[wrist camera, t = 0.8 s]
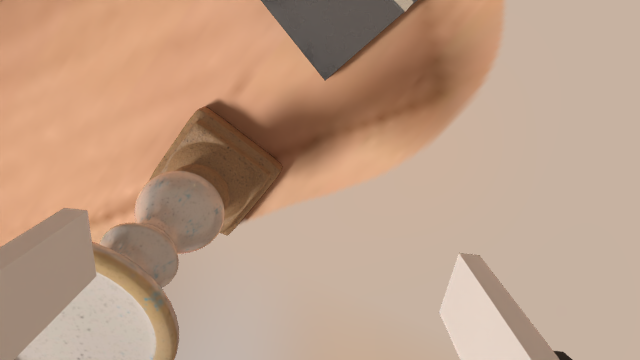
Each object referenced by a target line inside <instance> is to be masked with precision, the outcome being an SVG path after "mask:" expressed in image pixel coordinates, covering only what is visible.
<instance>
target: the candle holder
mask: <svg viewBox="0 0 640 360" xmlns="http://www.w3.org/2000/svg"><path fill="white" fill-rule="evenodd" d="M281 169H282V165H281V163H280V162H278V161H277V160H276V159H275V158H274V157H272V156H271V155H270V154H269V153H267V152H266V151H265V150H263V149H262V148H261V147H259V146H258V145H257V144H256V143H254V142H253V141H252V140H250V139H249V138H248V137H246V136H245V135H244V134H242V133H241V132H240V131H239V130H237V129H236V128H235V127H233V126H232V125H231V124H229V123H228V122H227V121H225V120H224V119H223V118H222V117H220V116H219V115H217V114H216V113H215V112H213V111H212V110H210V109H209V108H207V107H202V108H200V109H198V110H197V111H196V112H195V113H194V115H193V116H192V117H191V118H190V120H189V121H188V122H187V124H186V125H185V127H184V128H183V130H182V131H181V133H180V134H179V136H178V137H177V138H176V140H175V141H174V143H173V144H172V146H171V147H170V149H169V150H168V152H167V153H166V155H165V156H164V158H163V159H162V161H161V162H160V164H159V165H158V167H157V168H156V169H155V171H154V173H153V175H152V176H151V178H150V180H149V182H147V184H146V185H145V186H144V187H143V188H142V190H141V191H140V193H139V195H138V197H137V200H136V203H135V212H134V213H135V223H125V224H120V225H117V226H115V227H113V228H111V229H110V230H109V231H108V232H106V233H105V235H104V236H103V237H102V239H101V240H100V243H99V244H97V243H95V242H92V247H93V254H94V261H95V268H96V275H97V276H96V277H95V278H94V279H93V280H92V281H91V282H90V283H89V284H88V285H87V286H86V287H85V288H84V289H83V290H82V291H81V292H80V293H79V294H78V295H77V296H76V297H75V298H74V299H73V300H72V301H71V302H70V303H69V304H68V306H67V307H66V308H65V309H64V310H63V311H62V312H61V313H60V314H59V315H58V316H57V317H56V318H55V319H54V320H53V321H52V322H51V323H50V324H49V325H48V326H47V327H46V328H45V329H44V330H43V331H42V332H41V333H40V334H39V335H38V336H37V337H36V338H35V339H34V340H33V341H32V342H31V343H30V344H29V345H28V346H27V347H26V348H25V349H24V350H23V351H22V352H21V353H20V354H19V355H18V356H17V357H16V358H15V359H14V360H174V359H175V356H176V354H177V349H178V343H179V326H178V321H177V317H176V314H175V312H174V309H173V307H172V304H171V302H170V301H169V299H168V297H167V296H166V294H165V293H164V291H163V289H162V287H164V286H166V285H167V284H169V282H170V281H171V280H172V279H173V278H174V276H175V275H176V272H177V270H178V254H184V253H190V252H193V251H197V250H199V249H201V248H203V247H205V246H206V245H208V244H209V243H211V241H213V239H215V238H216V236H217V235H218V234H219V233H223V234H224V235H229V234H230V233H231V232H232V231H233V230H234V229H235V228H236V227H237V226H238V224H239V223H240V222H241V221H242V219H243V218H244V217H245V216H246V215H247V213H248V212H249V211H250V210H251V209H252V207H253V206H254V205H255V204H256V203H257V201H258V200H259V199H260V198H261V197H262V195H263V194H264V193H265V192H266V191H267V189H268V188H269V187H270V186H271V185H272V183H273V182H274V180H275V179H276V178H277V176H278V175H279V174H280V171H281Z"/></svg>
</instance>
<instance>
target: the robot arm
mask: <svg viewBox="0 0 640 360" xmlns="http://www.w3.org/2000/svg"><path fill="white" fill-rule="evenodd" d="M96 276H97V275H96V268H95V261H94V254H93V247H92V240H91V233H90V226H89V219H88V212H87V210H78V209H70V208H63V209H62V210H60V211H59V212H57V213H55V214H54V215H52V216H50V217H49V218H47V219H46V220H44V221H42V222H41V223H39V224H38V225H36V226H34V227H33V228H31V229H29V230H28V231H26V232H25V233H23V234H21V235H20V236H18V237H16V238H15V239H13V240H12V241H10V242H8V243H7V244H5V245H3V246H2V247H0V360H14V359H15V358H16V357H17V356H18V355H19V354H20V353H21V352H22V351H23V350H24V349H25V348H26V347H27V346H28V345H29V344H30V343H31V342H32V341H33V340H34V339H35V338H36V337H37V336H38V335H39V334H40V333H41V332H42V331H43V330H44V329H45V328H46V327H47V326H48V325H49V324H50V323H51V322H52V321H53V320H54V319H55V318H56V317H57V316H58V315H59V314H60V313H61V312H62V311H63V310H64V309H65V308H66V307H67V306H68V304H69V303H70V302H71V301H72V300H73V299H74V298H75V297H76V296H77V295H78V294H79V293H80V292H81V291H82V290H83V289H84V288H85V287H86V286H87V285H88V284H89V283H90V282H91V281H92V280H93V279H94V278H95V277H96ZM439 313H440V315H441V318H442V320H443V322H444V324H445V327H446V329H447V331H448V333H449V335H450V338H451V340H452V342H453V344H454V347H455V349H456V351H457V353H458V355H459V357H460V360H572V359H571V358H570V357H569V356H567V355H566V354H565V353H564V352H559V351H553V350H552V349H551V348H550V346H549V345H548V344H547V342H546V341H545V340H544V338H543V337H542V336H541V335H540V334H539V332H538V331H537V329H536V328H535V327H534V326H533V324H532V323H531V322H530V320H529V319H528V318H527V317H526V315H525V314H524V313H523V311H522V310H521V309H520V307H519V306H518V305H517V303H516V302H515V301H514V299H513V298H512V297H511V296H510V294H509V293H508V292H507V290H506V289H505V288H504V287H503V285H502V284H501V283H500V281H499V280H498V279H497V277H496V276H495V275H494V274H493V272H492V271H491V270H490V269H489V267H488V266H487V265H486V263H485V262H484V261H483V259H482V258H481V257H480V255H472V254H463V253H459V255H458V257H457V260H456V263H455V266H454V269H453V272H452V275H451V278H450V281H449V284H448V287H447V290H446V293H445V296H444V299H443V302H442V305H441V308H440V311H439Z"/></svg>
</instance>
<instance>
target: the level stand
mask: <svg viewBox="0 0 640 360" xmlns="http://www.w3.org/2000/svg"><path fill="white" fill-rule="evenodd" d="M261 1H262V2H263V4H264V5H265V6H266V7H267V9H268V10H269V11H270V12H271V14H272V15H273V16H274V17H275V19H276V20H277V21H278V22H279V24H280V25H281V26H282V27H283V29H284V30H285V31H286V32H287V34H288V35H289V36H290V37H291V39H292V40H293V41H294V42H295V44H296V45H297V46H298V47H299V49H300V50H301V51H302V52H303V54H304V55H305V56H306V57H307V59H308V60H309V61H310V62H311V64H312V65H313V66H314V67H315V69H316V70H317V71H318V72H319V74H320V75H321V76H322V77H323V79H324V80H326V79H327V78H329V77H330V76H331V75H332V74H333V73H334V72H335V71H337V70H338V69H339V68H340V67H341V66H342V65H344V64H345V63H346V62H347V61H348V60H349V59H350V58H352V57H353V56H354V55H355V54H356V53H357V52H358V51H360V50H361V49H362V48H363V47H364V46H365V45H367V44H368V43H369V42H370V41H371V40H372V39H373V38H375V37H376V36H377V35H378V34H379V33H380V32H382V31H383V30H384V29H385V28H386V27H387V26H388V25H390V24H391V23H392V22H393V21H394V20H395V19H396V18H398V17H399V16H400V15H401V14H402V13H403V12H406V11H407V9H408V8H409V7H410V6H411V5H413V4H414V3H415V2H416V1H417V0H261Z"/></svg>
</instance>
